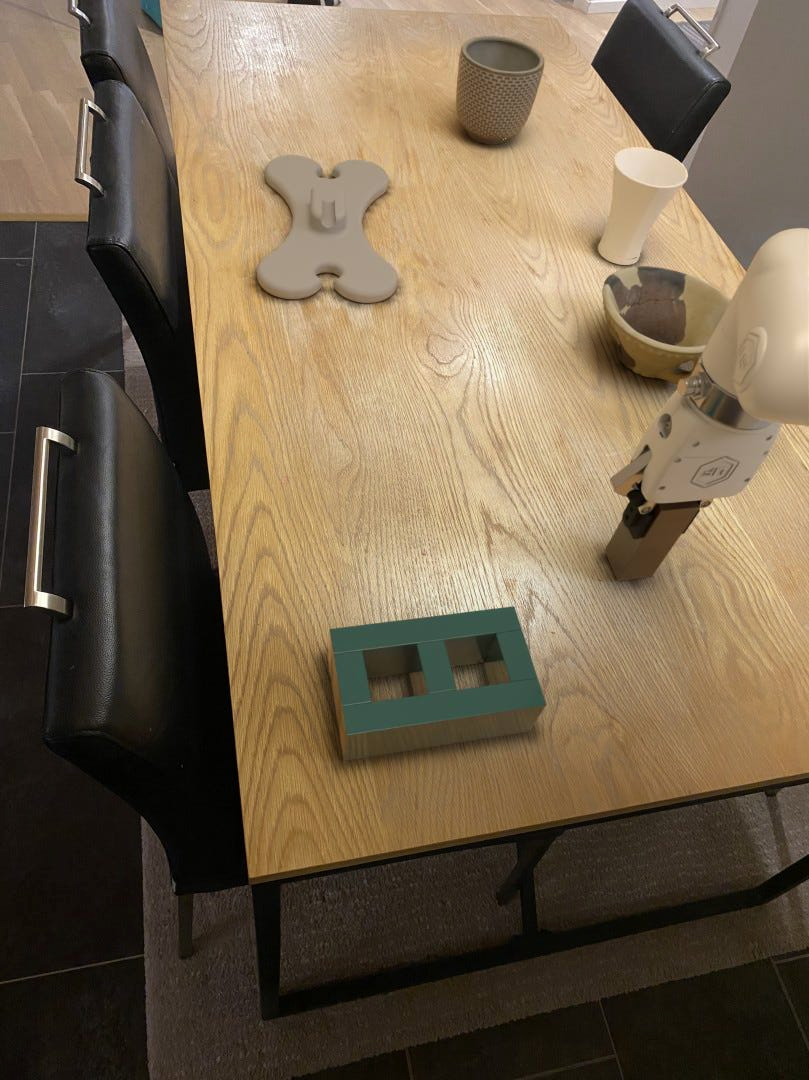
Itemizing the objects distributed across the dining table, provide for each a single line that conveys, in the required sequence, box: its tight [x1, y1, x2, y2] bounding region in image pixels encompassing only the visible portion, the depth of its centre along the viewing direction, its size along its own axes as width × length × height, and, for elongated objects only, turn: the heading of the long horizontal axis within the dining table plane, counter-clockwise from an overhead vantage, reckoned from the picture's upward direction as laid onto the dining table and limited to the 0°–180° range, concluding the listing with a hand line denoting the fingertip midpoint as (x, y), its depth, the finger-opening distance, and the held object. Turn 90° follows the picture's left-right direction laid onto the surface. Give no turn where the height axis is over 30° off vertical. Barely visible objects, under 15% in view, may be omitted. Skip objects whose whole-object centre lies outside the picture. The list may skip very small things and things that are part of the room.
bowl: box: [601, 265, 732, 385], centre depth 98 cm, size 18×18×10 cm
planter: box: [455, 35, 545, 146], centre depth 128 cm, size 14×14×13 cm
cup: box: [597, 146, 689, 266], centre depth 111 cm, size 10×10×14 cm
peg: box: [604, 500, 701, 582], centre depth 76 cm, size 4×4×12 cm
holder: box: [256, 154, 399, 304], centre depth 109 cm, size 19×34×5 cm, turn 4°
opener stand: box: [327, 605, 547, 762], centre depth 68 cm, size 10×17×6 cm, turn 101°
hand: (653, 523), depth 75 cm, fingers closed on peg, 4 cm apart
